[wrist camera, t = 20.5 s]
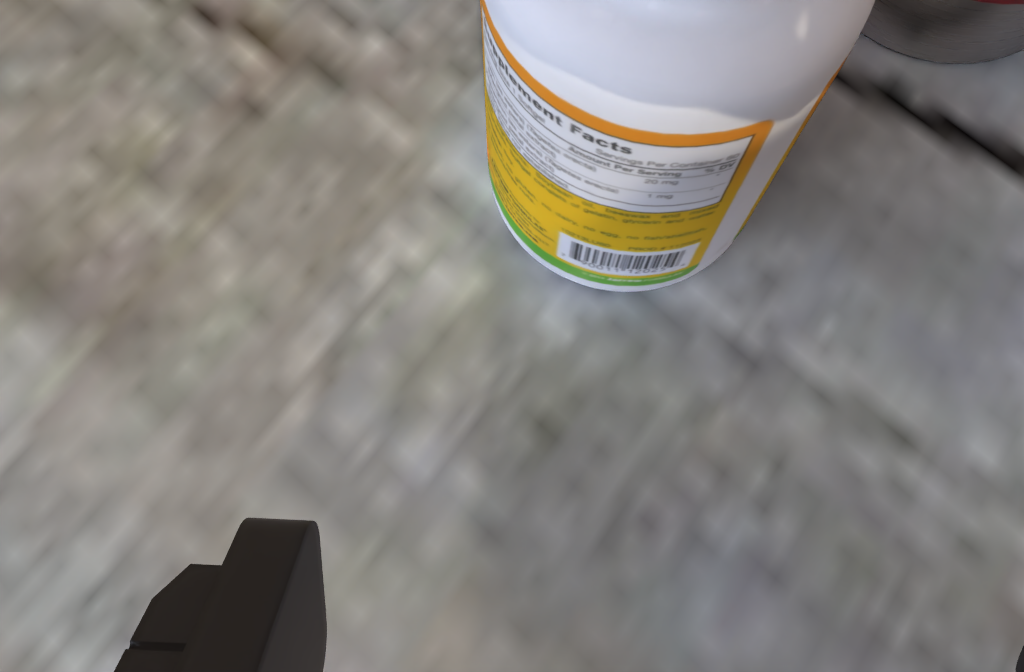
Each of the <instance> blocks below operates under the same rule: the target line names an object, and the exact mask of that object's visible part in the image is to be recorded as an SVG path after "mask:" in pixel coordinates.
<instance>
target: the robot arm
mask: <svg viewBox="0 0 1024 672" xmlns="http://www.w3.org/2000/svg"><path fill="white" fill-rule="evenodd" d="M326 640H327V621H326V608H325V596H324V584H323V572H322V560H321V548H320V536H319V530H318V526H317V523H316V522H315V521H306V520H286V519H265V518H246V519H245V520H244V521H243V522H242V523H241V525H240V527H239V529H238V531H237V533H236V535H235V537H234V540H233V542H232V544H231V546H230V549H229V551H228V553H227V555H226V557H225V560H224V562H223V564H222V566H221V565H201V564H190V565H189V566H188V567H187V568H186V569H184V570H183V571H182V572H181V573H180V574H179V575H178V576H177V577H176V578H175V579H173V580H172V581H171V582H170V583H169V584H168V585H167V586H166V587H165V588H163V589H162V590H161V591H160V592H159V593H158V594H157V595H156V596H155V597H154V598H152V600H151V602H150V604H149V606H148V608H147V610H146V612H145V613H144V615H143V617H142V619H141V621H140V623H139V625H138V627H137V629H136V631H135V632H134V634H133V636H132V638H131V640H130V647H129V649H126V650H125V652H124V653H123V655H122V657H121V659H120V661H119V663H118V665H117V667H116V669H115V671H114V672H323V667H324V661H325V652H326ZM1016 672H1024V646H1023V649H1022V651H1021V653H1020V656H1019V658H1018V662H1017V666H1016Z"/></svg>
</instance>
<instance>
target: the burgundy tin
mask: <svg viewBox="0 0 1024 672" xmlns="http://www.w3.org/2000/svg"><path fill="white" fill-rule="evenodd" d="M861 32H862V33H863V34H864V35H866V36H868V37H869V38H871V39H873V40H874V41H876V42H878V43H879V44H881V45H883V46H886V47H888V48H890V49H892V50H894V51H897V52H899V53H902V54H905V55H908V56H911V57H914V58H919V59H923V60H928V61H933V62H941V63H951V64H959V63H977V62H985V61H990V60H994V59H998V58H1002V57H1005V56H1008V55H1011V54H1013V53H1016V52H1018V51H1021V50H1023V49H1024V0H875V2H874V5H873V7H872V10H871V12H870V15H869V17H868V19H867V21H866V23H865V25H864V27H863V29H862V31H861Z"/></svg>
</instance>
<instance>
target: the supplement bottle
mask: <svg viewBox="0 0 1024 672" xmlns="http://www.w3.org/2000/svg"><path fill="white" fill-rule="evenodd" d="M874 2H875V0H480V5H481V22H482V40H483V63H484V86H485V107H486V131H487V154H488V166H489V175H490V181H491V186H492V191H493V195H494V198H495V201H496V204H497V207H498V209H499V211H500V214H501V216H502V218H503V220H504V222H505V223H506V225H507V227H508V228H509V230H510V232H511V233H512V235H513V236H514V237H515V239H516V240H517V241H518V242H519V243H520V245H521V246H522V247H523V248H524V249H525V250H526V251H527V252H528V253H529V254H530V255H531V256H532V257H533V258H534V259H536V260H537V261H538V262H539V263H541V264H542V265H544V266H545V267H547V268H548V269H550V270H551V271H553V272H555V273H557V274H558V275H560V276H562V277H564V278H567V279H569V280H571V281H574V282H576V283H579V284H582V285H585V286H588V287H592V288H596V289H601V290H608V291H617V292H636V291H647V290H653V289H658V288H662V287H666V286H669V285H672V284H675V283H678V282H680V281H683V280H685V279H687V278H689V277H691V276H693V275H695V274H696V273H698V272H700V271H701V270H703V269H704V268H706V267H707V266H709V265H710V264H711V263H713V262H714V261H715V260H716V259H717V258H719V257H720V256H721V255H722V254H723V253H724V252H725V251H726V250H727V249H728V247H729V246H730V245H731V244H732V243H733V241H734V240H735V238H736V237H737V236H738V234H739V233H740V232H741V231H742V229H743V228H744V226H745V224H746V223H747V221H748V220H749V218H750V216H751V215H752V213H753V211H754V209H755V208H756V206H757V205H758V203H759V201H760V199H761V198H762V196H763V195H764V193H765V191H766V190H767V188H768V186H769V185H770V183H771V181H772V180H773V178H774V176H775V175H776V173H777V171H778V170H779V168H780V166H781V165H782V163H783V162H784V160H785V158H786V157H787V155H788V153H789V152H790V150H791V148H792V147H793V145H794V143H795V142H796V140H797V138H798V137H799V135H800V133H801V132H802V130H803V129H804V127H805V125H806V124H807V122H808V121H809V119H810V118H811V116H812V114H813V113H814V111H815V109H816V108H817V106H818V104H819V103H820V101H821V99H822V98H823V96H824V95H825V93H826V91H827V90H828V88H829V87H830V85H831V83H832V82H833V80H834V79H835V77H836V75H837V74H838V72H839V71H840V69H841V67H842V66H843V64H844V62H845V60H846V59H847V57H848V55H849V53H850V52H851V50H852V48H853V46H854V45H855V43H856V41H857V39H858V37H859V35H860V33H861V31H862V29H863V27H864V25H865V23H866V21H867V19H868V17H869V15H870V12H871V10H872V7H873V5H874Z"/></svg>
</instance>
